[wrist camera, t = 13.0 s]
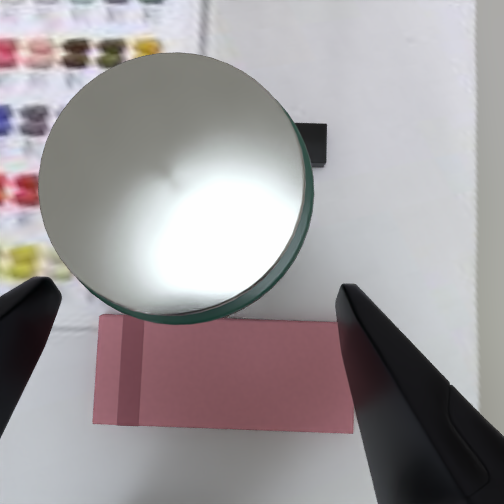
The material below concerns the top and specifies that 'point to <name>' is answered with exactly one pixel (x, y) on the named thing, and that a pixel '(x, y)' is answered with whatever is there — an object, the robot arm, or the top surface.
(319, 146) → the nail file
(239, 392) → the towel
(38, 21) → the top surface
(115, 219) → the tin
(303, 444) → the top surface
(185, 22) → the top surface
